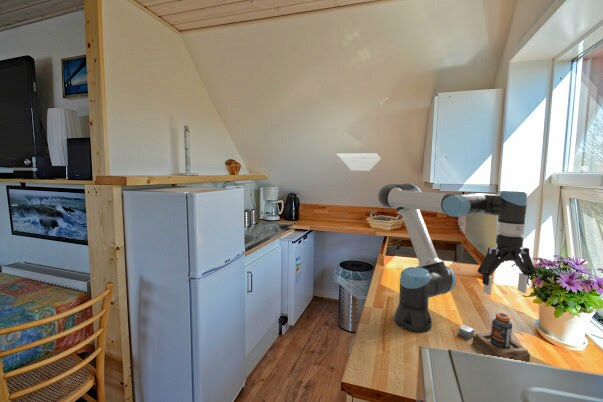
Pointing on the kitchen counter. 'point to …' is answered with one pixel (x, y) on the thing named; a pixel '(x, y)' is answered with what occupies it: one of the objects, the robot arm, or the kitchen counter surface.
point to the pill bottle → (501, 331)
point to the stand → (489, 349)
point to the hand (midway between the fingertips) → (504, 292)
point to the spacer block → (466, 331)
